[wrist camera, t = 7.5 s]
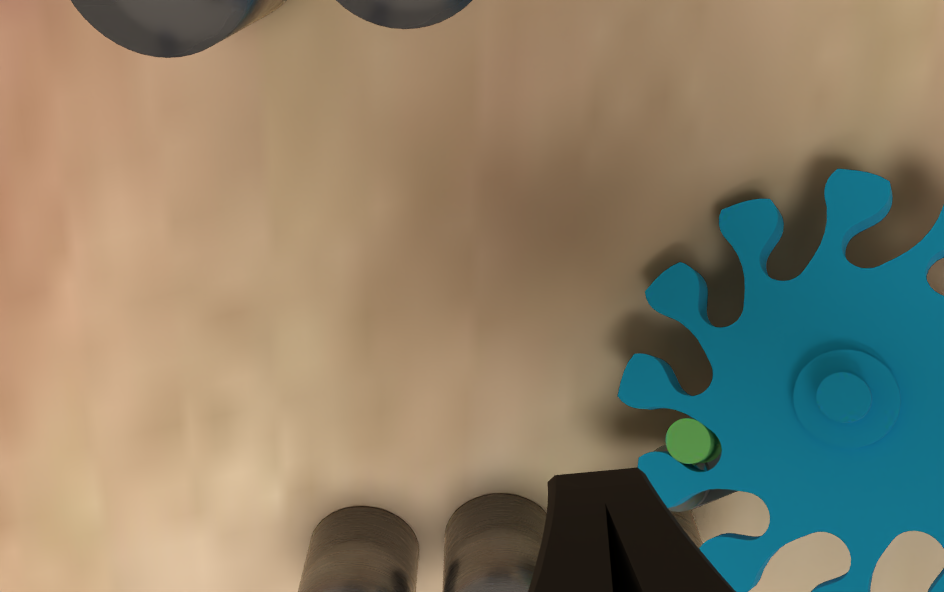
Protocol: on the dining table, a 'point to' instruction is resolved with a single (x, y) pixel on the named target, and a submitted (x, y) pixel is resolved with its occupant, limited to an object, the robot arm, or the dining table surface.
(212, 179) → the dining table surface
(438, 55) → the dining table surface
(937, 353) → the gear
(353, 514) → the spacer field
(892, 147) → the dining table surface
